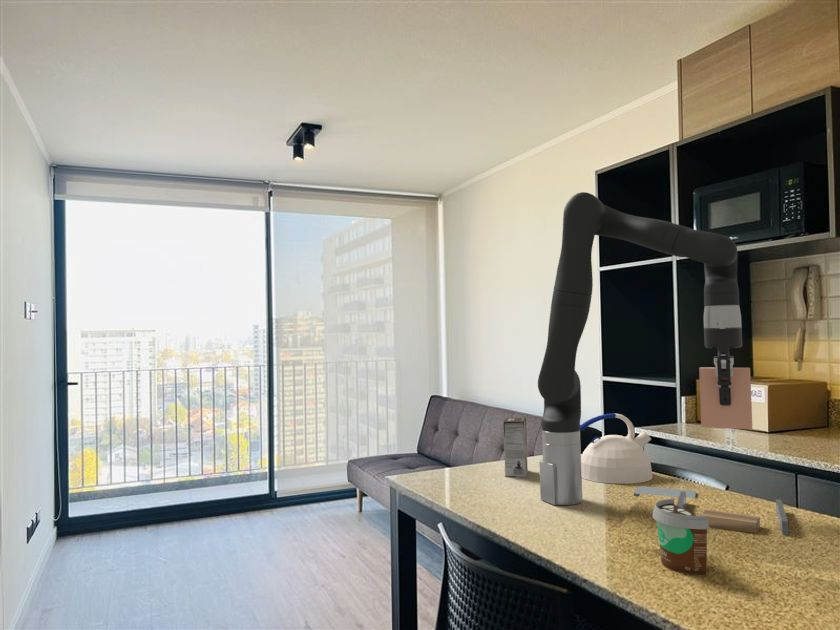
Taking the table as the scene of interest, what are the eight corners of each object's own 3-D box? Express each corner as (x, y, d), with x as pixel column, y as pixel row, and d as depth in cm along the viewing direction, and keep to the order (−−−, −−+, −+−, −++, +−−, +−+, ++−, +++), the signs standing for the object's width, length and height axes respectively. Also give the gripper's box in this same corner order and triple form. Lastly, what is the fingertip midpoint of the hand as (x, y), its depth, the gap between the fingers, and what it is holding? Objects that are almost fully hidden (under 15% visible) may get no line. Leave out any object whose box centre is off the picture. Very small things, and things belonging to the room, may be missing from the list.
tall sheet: (752, 429, 133) (750, 368, 133) (701, 427, 137) (699, 368, 138) (751, 426, 136) (749, 367, 137) (701, 424, 141) (699, 367, 141)
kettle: (665, 483, 168) (662, 416, 169) (588, 485, 168) (586, 418, 169) (639, 468, 188) (637, 408, 189) (571, 469, 188) (569, 410, 189)
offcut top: (756, 533, 120) (756, 522, 120) (700, 525, 126) (700, 515, 126) (760, 526, 124) (759, 516, 124) (705, 519, 130) (705, 509, 130)
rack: (788, 542, 118) (787, 521, 118) (675, 530, 127) (674, 510, 127) (782, 518, 134) (781, 499, 134) (681, 509, 143) (680, 491, 143)
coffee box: (506, 470, 189) (505, 417, 190) (528, 470, 188) (526, 417, 189) (504, 476, 180) (503, 421, 181) (527, 477, 179) (525, 421, 180)
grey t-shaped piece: (694, 500, 149) (694, 498, 149) (633, 495, 156) (633, 493, 156) (696, 493, 157) (696, 490, 157) (638, 488, 163) (637, 486, 163)
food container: (642, 554, 114) (640, 499, 114) (674, 552, 114) (672, 497, 115) (675, 580, 102) (672, 518, 102) (711, 578, 102) (708, 516, 103)
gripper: (705, 327, 146) (707, 400, 145) (702, 326, 133) (705, 407, 132) (741, 326, 142) (744, 401, 142) (742, 325, 130) (745, 408, 129)
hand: (725, 403), depth 137 cm, fingers closed on tall sheet, 4 cm apart
